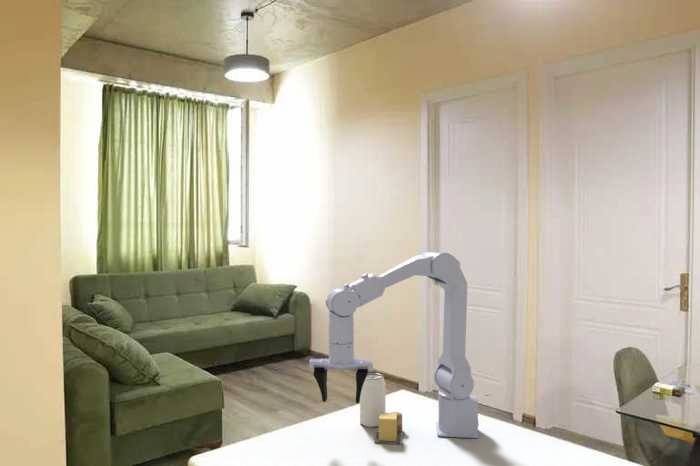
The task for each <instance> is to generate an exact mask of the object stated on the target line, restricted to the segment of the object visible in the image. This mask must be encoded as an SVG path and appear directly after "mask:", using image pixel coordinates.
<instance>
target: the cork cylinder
mask: <svg viewBox="0 0 700 466" xmlns="http://www.w3.org/2000/svg"><path fill="white" fill-rule="evenodd" d="M391 413H397V433H401V434H402V433H403V413H401V412H397V411H396V412H395V411H394V412H391Z"/></svg>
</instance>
